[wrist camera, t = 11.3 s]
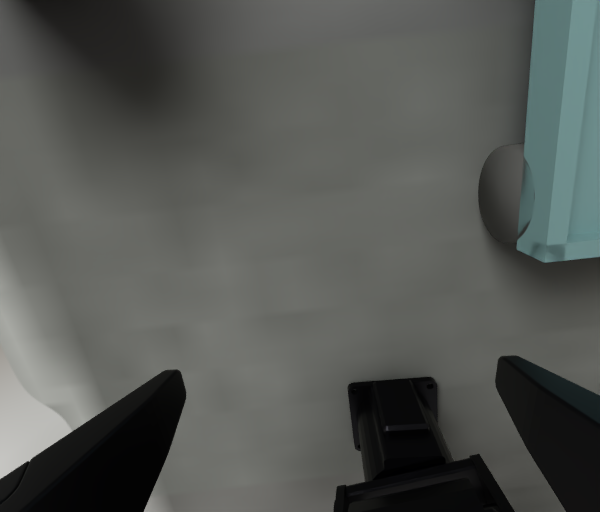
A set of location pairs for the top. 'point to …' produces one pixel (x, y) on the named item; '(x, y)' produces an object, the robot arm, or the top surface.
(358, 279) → the top surface
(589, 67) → the teal toy wagon
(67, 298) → the top surface
